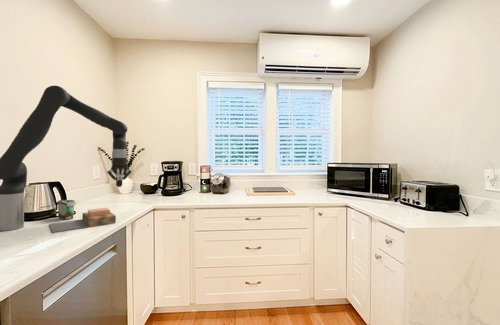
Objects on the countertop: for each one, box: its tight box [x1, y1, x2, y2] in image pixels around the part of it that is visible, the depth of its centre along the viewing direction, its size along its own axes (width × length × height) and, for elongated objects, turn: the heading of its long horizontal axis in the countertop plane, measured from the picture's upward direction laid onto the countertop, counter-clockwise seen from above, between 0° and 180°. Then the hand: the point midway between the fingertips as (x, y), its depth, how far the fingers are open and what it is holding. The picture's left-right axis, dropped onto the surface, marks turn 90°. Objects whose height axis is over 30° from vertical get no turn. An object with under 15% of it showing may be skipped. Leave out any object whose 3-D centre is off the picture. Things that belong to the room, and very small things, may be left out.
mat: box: [48, 218, 89, 234], centre depth 117 cm, size 14×18×1 cm
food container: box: [57, 199, 77, 221], centre depth 132 cm, size 12×6×10 cm, turn 59°
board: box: [81, 211, 117, 228], centre depth 126 cm, size 12×18×4 cm, turn 45°
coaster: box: [87, 207, 111, 217], centre depth 126 cm, size 9×7×2 cm
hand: (119, 186), depth 133 cm, fingers closed
